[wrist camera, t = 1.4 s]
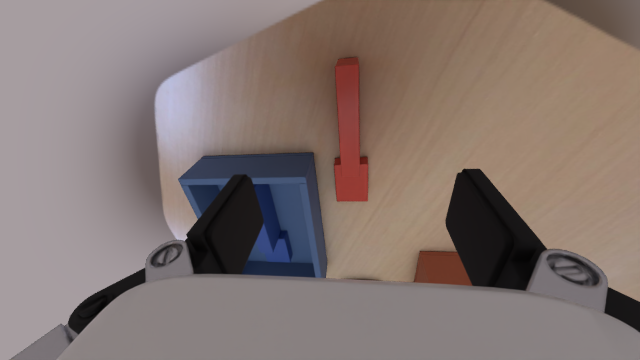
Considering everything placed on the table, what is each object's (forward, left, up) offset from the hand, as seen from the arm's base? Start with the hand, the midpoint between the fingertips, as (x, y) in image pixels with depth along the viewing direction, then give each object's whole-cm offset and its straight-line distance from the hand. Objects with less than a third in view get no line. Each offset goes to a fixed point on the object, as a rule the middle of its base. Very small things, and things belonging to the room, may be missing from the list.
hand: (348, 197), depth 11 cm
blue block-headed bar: (+15, -11, -14) cm, 23 cm away
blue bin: (+15, -11, -15) cm, 24 cm away
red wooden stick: (+4, 0, -15) cm, 15 cm away
